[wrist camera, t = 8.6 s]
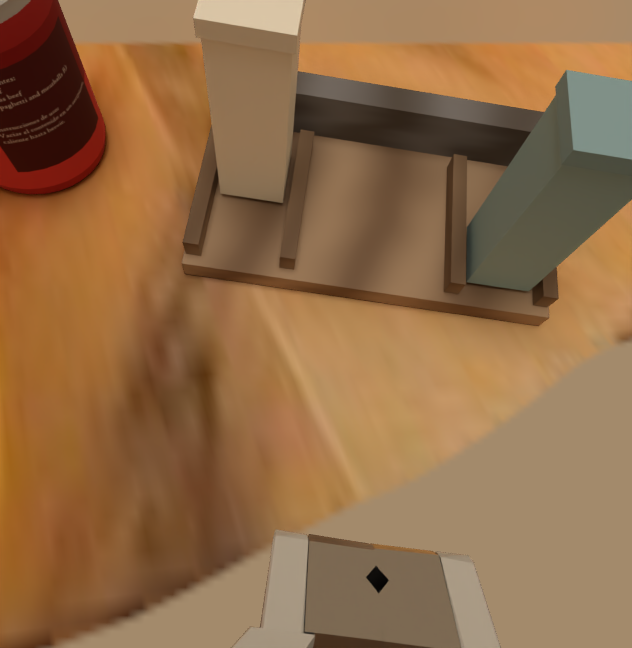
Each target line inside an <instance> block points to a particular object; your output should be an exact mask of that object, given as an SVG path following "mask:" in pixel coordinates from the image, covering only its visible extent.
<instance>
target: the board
mask: <svg viewBox="0 0 632 648" xmlns="http://www.w3.org/2000/svg"><path fill="white" fill-rule="evenodd" d="M543 114H544V112H540V111H534V110H528V109H522V108H516V107H510V106H504V105H498V104H492V103H486V102H480V101H474V100H467V99H461V98H455V97H449V96H443V95H437V94H431V93H425V92H419V91H413V90H407V89H401V88H395V87H389V86H383V85H377V84H371V83H365V82H359V81H353V80H347V79H341V78H335V77H329V76H323V75H317V74H311V73H305V72H299V71H298V74H297V87H296V100H295V113H294V126H293V139H292V152H291V159H290V165H289V171H288V177H287V183H286V189H285V194H284V200H283V203H279V202H273V201H266V200H260V199H254V198H247V197H241V196H234V195H228V194H221V193H220V185H219V177H218V169H217V162H216V154H215V146H214V138H213V130H212V125H211V129H210V133H209V137H208V141H207V145H206V149H205V153H204V158H203V162H202V166H201V170H200V174H199V178H198V182H197V186H196V190H195V194H194V198H193V202H192V206H191V210H190V214H189V218H188V223H187V227H186V231H185V235H184V239H183V245H184V249H185V251H184V255H183V260H182V266H183V270H184V273H185V274H190V275H197V276H204V277H211V278H217V279H224V280H231V281H238V282H245V283H251V284H258V285H265V286H272V287H279V288H285V289H292V290H299V291H306V292H312V293H319V294H326V295H333V296H340V297H346V298H353V299H360V300H367V301H374V302H380V303H387V304H394V305H401V306H408V307H414V308H421V309H428V310H435V311H441V312H448V313H455V314H462V315H469V316H475V317H482V318H489V319H496V320H503V321H509V322H516V323H523V324H530V325H536V326H539V325H540V324H542V323H543V322H544V321H546V320H547V319H548V318H549V306H550V305H551V304H552V303H553V302H555V301H556V300H557V299H558V283H557V268H554V269H553V270H552V271H551V272H550V273H549V274H548V275H547V276H546V277H544V278H543V279H542V280H541V281H540V282H539V283H538V284H537V285H536V286H534V287H533V288H532V289H531V290H530V291H522V290H515V289H509V288H502V287H495V286H489V285H482V284H475V283H469V282H466V259H467V226H468V225H469V223H470V222H471V220H472V219H473V217H474V216H475V214H476V213H477V212H478V210H479V209H480V207H481V206H482V204H483V203H484V201H485V200H486V198H487V197H488V195H489V194H490V192H491V191H492V189H493V188H494V186H495V185H496V183H497V182H498V180H499V179H500V177H501V176H502V174H503V173H504V172H505V170H506V169H507V167H508V166H509V164H510V163H511V161H512V160H513V158H514V157H515V155H516V154H517V152H518V151H519V149H520V148H521V146H522V145H523V143H524V142H525V140H526V139H527V137H528V136H529V134H530V133H531V131H532V130H533V129H534V127H535V126H536V124H537V123H538V121H539V120H540V118H541V117H542V115H543Z"/></svg>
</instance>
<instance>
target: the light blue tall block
mask: <svg viewBox="0 0 632 648" xmlns="http://www.w3.org/2000/svg"><path fill="white" fill-rule="evenodd" d="M555 88H556V96H555V97H554V99H553V100H552V102H551V103H550V105H549V106H548V108H547V109H546V111H545V112H544V114H543V115H542V117H541V118H540V120H539V121H538V123H537V124H536V126H535V127H534V129H533V130H532V131H531V133H530V134H529V136H528V137H527V139H526V140H525V142H524V143H523V145H522V146H521V148H520V149H519V151H518V152H517V154H516V155H515V157H514V158H513V160H512V161H511V163H510V164H509V166H508V167H507V169H506V170H505V172H504V173H503V174H502V176H501V177H500V179H499V180H498V182H497V183H496V185H495V186H494V188H493V189H492V191H491V192H490V194H489V195H488V197H487V198H486V200H485V201H484V203H483V204H482V206H481V207H480V209H479V210H478V212H477V213H476V214H475V216H474V217H473V219H472V220H471V222H470V223H469V225H468V226H467V259H466V282H469V283H475V284H482V285H489V286H495V287H502V288H509V289H515V290H522V291H530V290H531V289H532V288H533V287H534V286H536V285H537V284H538V283H539V282H540V281H541V280H542V279H543V278H544V277H546V276H547V275H548V274H549V273H550V272H551V271H552V270H553V269H554V268H556V267H557V266H558V265H559V264H560V263H561V262H562V261H563V260H565V259H566V258H567V257H568V256H569V255H570V254H571V253H572V252H573V251H575V250H576V249H577V248H578V247H579V246H580V245H581V244H582V243H584V242H585V241H586V240H587V239H588V238H589V237H590V236H591V235H592V234H594V233H595V232H596V231H597V230H598V229H599V228H600V227H601V226H603V225H604V224H605V223H606V222H607V221H608V220H609V219H610V218H611V217H613V216H614V215H615V214H616V213H617V212H618V211H619V210H620V209H621V208H623V207H624V206H625V205H626V204H627V203H628V202H629V201H630V200H632V81H628V80H622V79H616V78H610V77H604V76H599V75H593V74H587V73H581V72H575V71H569V70H566V71H565V73H564V74H563V76H562V78H561V79H560V81H559V82H558V84H557V85H556V87H555Z"/></svg>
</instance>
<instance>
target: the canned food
mask: <svg viewBox="0 0 632 648" xmlns="http://www.w3.org/2000/svg"><path fill="white" fill-rule="evenodd" d="M104 148H105V124H104V121H103V117H102V115H101V112H100V109H99V107H98V104H97V101H96V99H95V96H94V94H93V91H92V88H91V86H90V83H89V80H88V78H87V75H86V73H85V70H84V67H83V65H82V62H81V59H80V57H79V54H78V52H77V49H76V46H75V44H74V41H73V38H72V36H71V33H70V31H69V28H68V25H67V23H66V20H65V18H64V15H63V12H62V10H61V7H60V4H59V2H58V0H0V187H2V188H4V189H6V190H9V191H13V192H17V193H24V194H46V193H51V192H56V191H60V190H63V189H65V188H68V187H71V186H73V185H74V184H76V183H78V182H80V181H82V180H83V179H84V178H85V177H87V176H88V175H89V174H90V173H91V172H92V171H93V170H94V169H95V167H96V166H97V165H98V164H99V162H100V160H101V158H102V156H103V152H104Z"/></svg>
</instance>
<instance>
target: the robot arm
mask: <svg viewBox="0 0 632 648" xmlns="http://www.w3.org/2000/svg"><path fill="white" fill-rule="evenodd" d="M231 648H501V646H500V643H499V640H498V637H497V634H496V631H495V628H494V625H493V622H492V618H491V615H490V612H489V609H488V606H487V603H486V600H485V596H484V594H483V590H482V587H481V584H480V581H479V578H478V575H477V571H476V568H475V565H474V562H473V560H472V559H471V558H470V557H469V556H468V555H461V554H453V553H444V552H433V551H427V550H419V549H411V548H403V547H394V546H387V545H378V544H368V543H362V542H355V541H349V540H342V539H336V538H330V537H324V536H318V535H312V534H309V535H308V536H307V535H306V534H300V533H294V532H288V531H282V530H275V533H274V537H273V543H272V550H271V556H270V563H269V570H268V577H267V583H266V590H265V597H264V604H263V610H262V617H261V624H260V627H249V628H248V630H247V631H246V632H245V633H244V634H243V635H242V636H241V637H240V638H239V639H238V641H237V642H236V643H235V644H234V645H233V646H232V647H231Z"/></svg>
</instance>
